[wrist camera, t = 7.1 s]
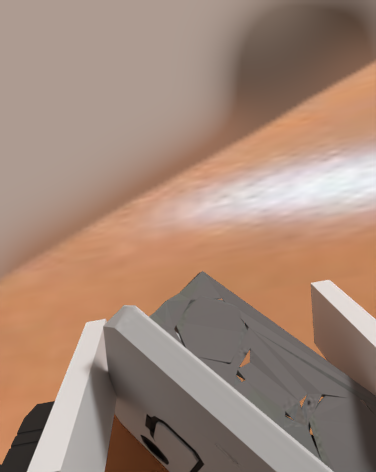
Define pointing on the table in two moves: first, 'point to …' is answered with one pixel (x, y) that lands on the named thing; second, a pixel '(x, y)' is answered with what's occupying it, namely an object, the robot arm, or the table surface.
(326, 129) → the table surface
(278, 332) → the electrical switch
